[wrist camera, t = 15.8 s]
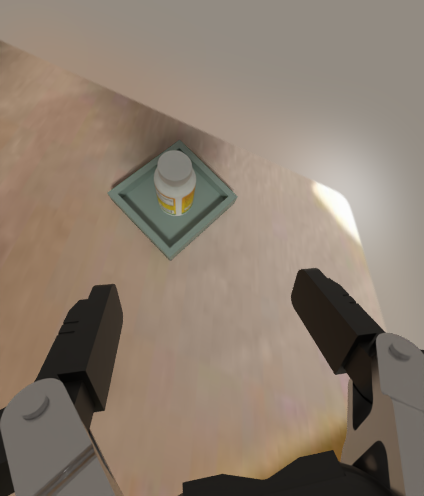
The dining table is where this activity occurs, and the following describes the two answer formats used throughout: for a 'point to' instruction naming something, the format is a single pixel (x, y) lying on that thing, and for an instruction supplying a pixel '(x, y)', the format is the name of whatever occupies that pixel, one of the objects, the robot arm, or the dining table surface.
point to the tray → (162, 224)
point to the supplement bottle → (175, 183)
